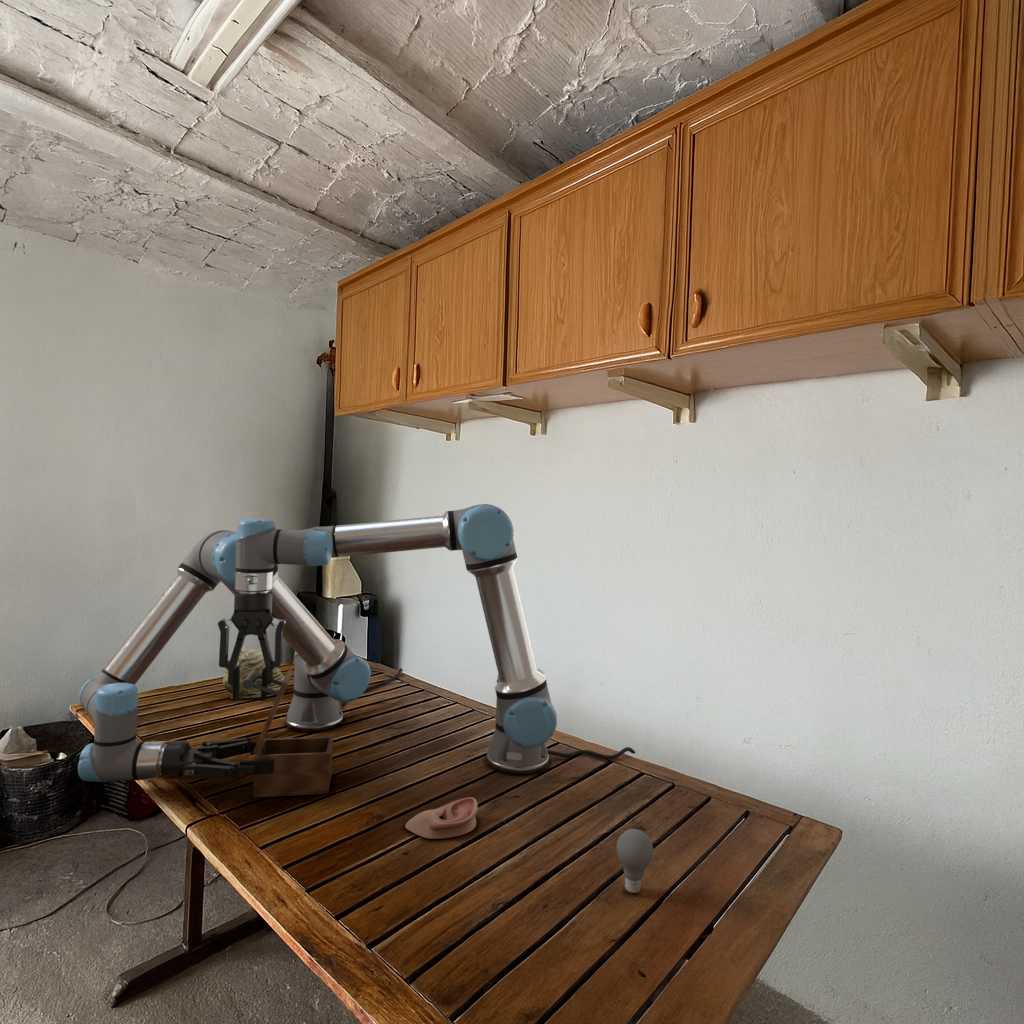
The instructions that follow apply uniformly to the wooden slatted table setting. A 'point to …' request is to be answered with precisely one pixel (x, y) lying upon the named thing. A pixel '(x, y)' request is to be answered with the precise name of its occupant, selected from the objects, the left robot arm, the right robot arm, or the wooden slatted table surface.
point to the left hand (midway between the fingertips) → (277, 756)
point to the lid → (250, 683)
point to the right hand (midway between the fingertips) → (249, 698)
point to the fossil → (247, 663)
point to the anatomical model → (445, 820)
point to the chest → (295, 767)
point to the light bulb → (634, 857)
